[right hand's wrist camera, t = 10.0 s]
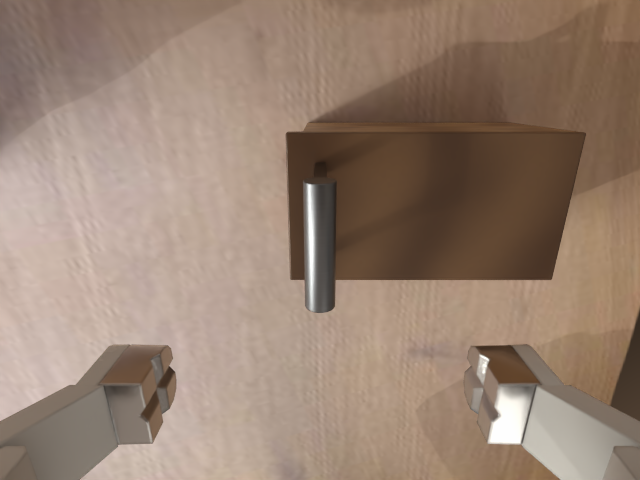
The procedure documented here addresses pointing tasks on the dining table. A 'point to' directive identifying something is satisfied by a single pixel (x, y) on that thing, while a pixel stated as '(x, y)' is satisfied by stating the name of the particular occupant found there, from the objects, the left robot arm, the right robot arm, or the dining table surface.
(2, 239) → the dining table surface
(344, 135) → the brown panel with handle
